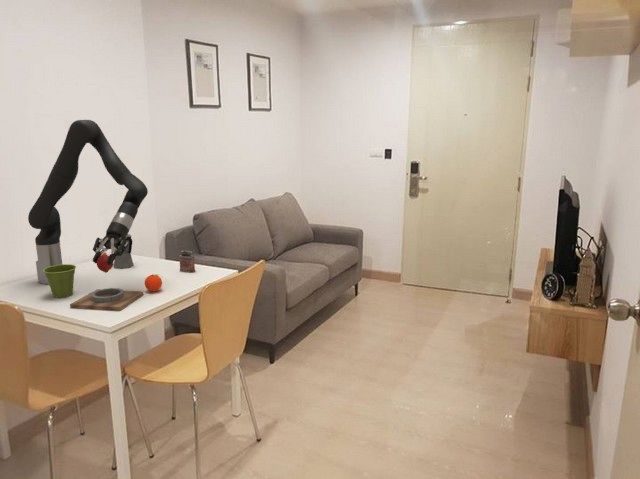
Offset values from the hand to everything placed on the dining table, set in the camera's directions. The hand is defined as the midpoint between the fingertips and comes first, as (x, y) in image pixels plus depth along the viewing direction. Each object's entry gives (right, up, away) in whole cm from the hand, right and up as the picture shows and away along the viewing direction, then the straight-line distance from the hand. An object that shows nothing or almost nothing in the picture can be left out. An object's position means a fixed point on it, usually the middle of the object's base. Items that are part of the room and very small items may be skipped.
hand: (101, 263), depth 191 cm
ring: (0, -14, +5) cm, 14 cm away
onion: (+1, -4, +3) cm, 5 cm away
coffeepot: (-12, -4, +53) cm, 54 cm away
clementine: (+14, -13, +18) cm, 26 cm away
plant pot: (-21, -14, +12) cm, 28 cm away
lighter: (+21, -6, +46) cm, 50 cm away
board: (0, -15, +5) cm, 16 cm away
